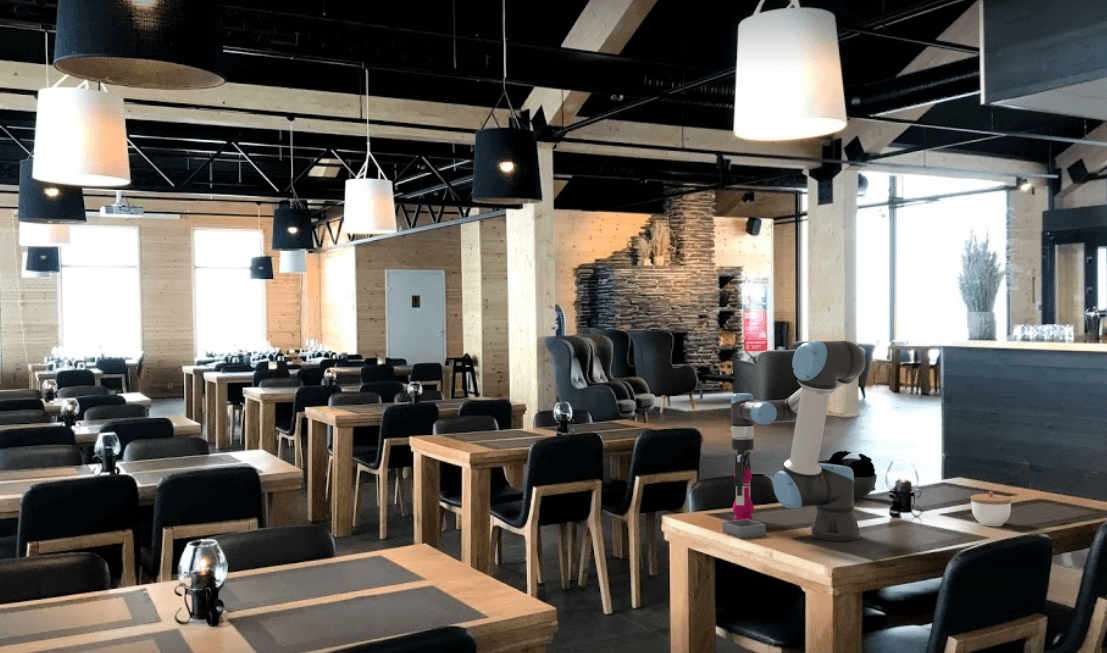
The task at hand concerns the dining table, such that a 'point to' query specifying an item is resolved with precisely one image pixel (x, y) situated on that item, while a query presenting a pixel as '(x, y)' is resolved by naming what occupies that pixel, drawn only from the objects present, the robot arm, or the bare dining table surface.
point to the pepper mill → (747, 508)
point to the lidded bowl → (991, 508)
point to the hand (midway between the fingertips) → (743, 502)
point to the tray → (744, 528)
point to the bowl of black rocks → (858, 473)
